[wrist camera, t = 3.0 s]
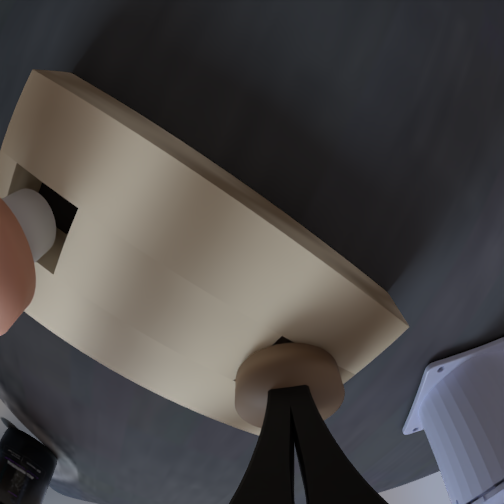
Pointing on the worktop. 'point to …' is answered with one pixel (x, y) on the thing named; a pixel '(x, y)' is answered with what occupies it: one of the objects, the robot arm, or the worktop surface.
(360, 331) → the board
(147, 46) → the worktop surface
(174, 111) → the worktop surface
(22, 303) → the terracotta plunger
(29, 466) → the supplement bottle
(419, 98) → the worktop surface
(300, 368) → the walnut plunger
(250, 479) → the robot arm
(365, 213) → the worktop surface
